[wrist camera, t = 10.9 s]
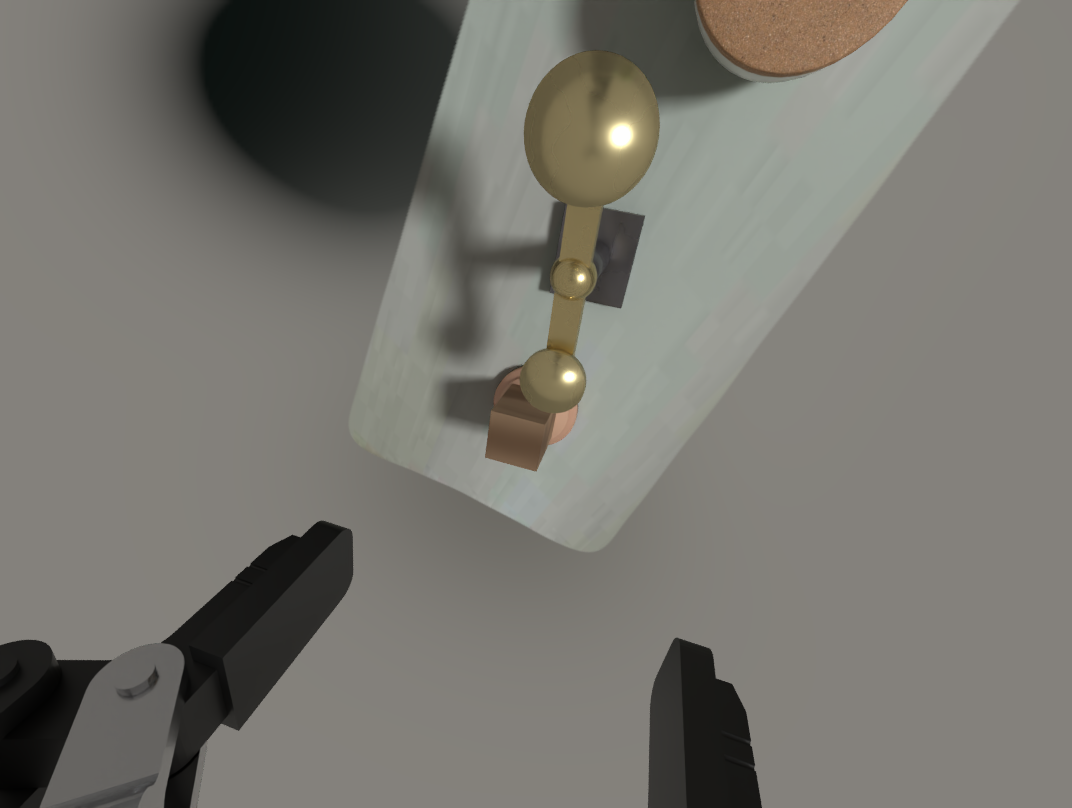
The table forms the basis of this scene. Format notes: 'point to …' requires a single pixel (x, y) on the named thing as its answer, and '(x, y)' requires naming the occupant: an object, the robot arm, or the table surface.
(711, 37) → the lidded jar
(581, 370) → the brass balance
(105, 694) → the robot arm
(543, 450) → the walnut block
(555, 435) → the terracotta dish
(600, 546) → the table surface
